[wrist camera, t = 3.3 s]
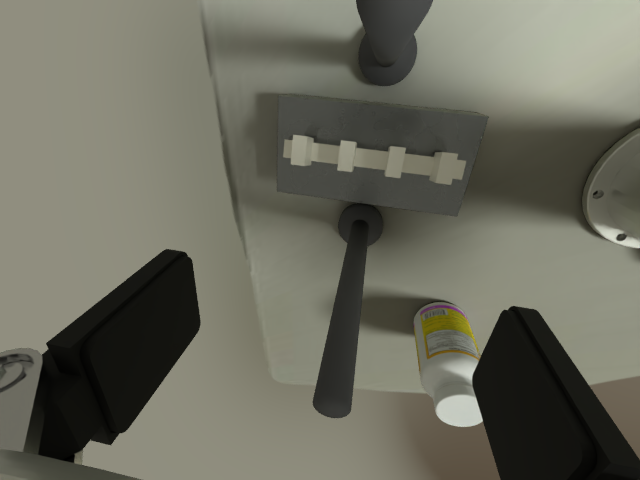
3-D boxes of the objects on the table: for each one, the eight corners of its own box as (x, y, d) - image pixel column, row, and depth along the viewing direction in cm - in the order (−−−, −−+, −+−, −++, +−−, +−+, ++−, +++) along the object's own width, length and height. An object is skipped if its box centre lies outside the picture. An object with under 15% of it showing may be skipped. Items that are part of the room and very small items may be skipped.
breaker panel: (476, 112, 29) (488, 116, 25) (449, 202, 33) (457, 216, 30) (290, 93, 31) (278, 95, 28) (287, 180, 35) (276, 191, 32)
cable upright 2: (426, 58, 28) (541, -1, 8) (380, 97, 30) (373, 134, 10) (394, 7, 27) (428, -228, 6) (348, 52, 29) (263, -16, 8)
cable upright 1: (391, 227, 36) (401, 421, 16) (356, 249, 38) (325, 444, 18) (365, 194, 35) (339, 357, 14) (331, 218, 37) (265, 390, 16)
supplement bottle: (448, 346, 42) (471, 442, 31) (403, 326, 42) (411, 417, 31) (477, 312, 39) (516, 406, 28) (429, 291, 39) (448, 378, 28)
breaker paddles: (464, 156, 27) (477, 156, 24) (457, 183, 28) (469, 187, 24) (287, 135, 29) (276, 132, 26) (285, 161, 30) (274, 162, 26)
